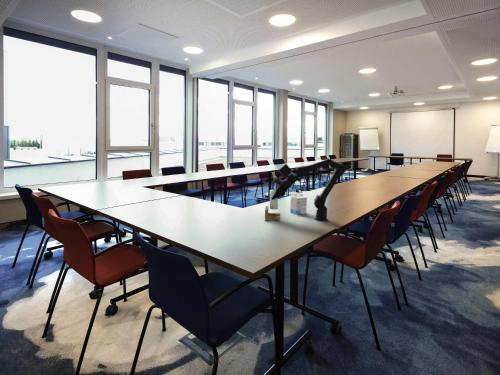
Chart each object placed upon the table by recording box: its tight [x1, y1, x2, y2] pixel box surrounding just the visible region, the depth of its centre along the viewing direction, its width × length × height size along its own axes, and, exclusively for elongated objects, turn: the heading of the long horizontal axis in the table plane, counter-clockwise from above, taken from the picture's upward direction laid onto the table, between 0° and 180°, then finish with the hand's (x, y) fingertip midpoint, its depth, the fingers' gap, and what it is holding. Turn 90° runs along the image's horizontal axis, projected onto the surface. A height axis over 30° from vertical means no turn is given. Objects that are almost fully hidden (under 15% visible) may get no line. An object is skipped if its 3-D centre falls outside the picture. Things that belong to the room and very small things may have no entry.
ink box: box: [289, 193, 308, 215], centre depth 216 cm, size 9×8×13 cm
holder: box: [264, 205, 281, 222], centre depth 200 cm, size 10×13×7 cm
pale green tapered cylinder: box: [269, 189, 279, 210], centre depth 199 cm, size 5×5×12 cm
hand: (271, 198), depth 199 cm, fingers closed on pale green tapered cylinder, 5 cm apart
